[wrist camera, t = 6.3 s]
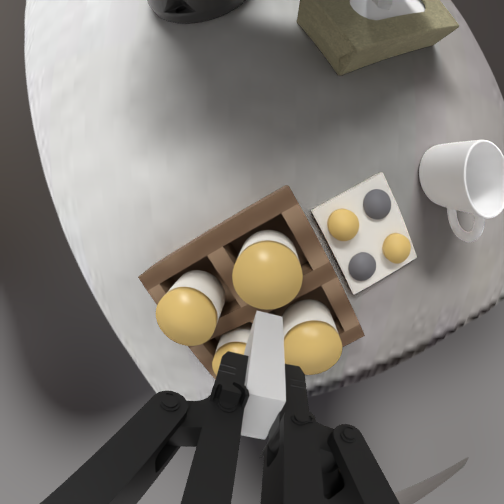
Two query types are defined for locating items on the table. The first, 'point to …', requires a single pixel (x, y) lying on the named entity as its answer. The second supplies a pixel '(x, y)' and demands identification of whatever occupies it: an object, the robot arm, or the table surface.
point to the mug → (465, 182)
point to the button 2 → (231, 343)
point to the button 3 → (267, 270)
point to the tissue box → (372, 28)
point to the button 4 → (310, 337)
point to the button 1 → (191, 308)
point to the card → (365, 232)
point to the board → (224, 258)
